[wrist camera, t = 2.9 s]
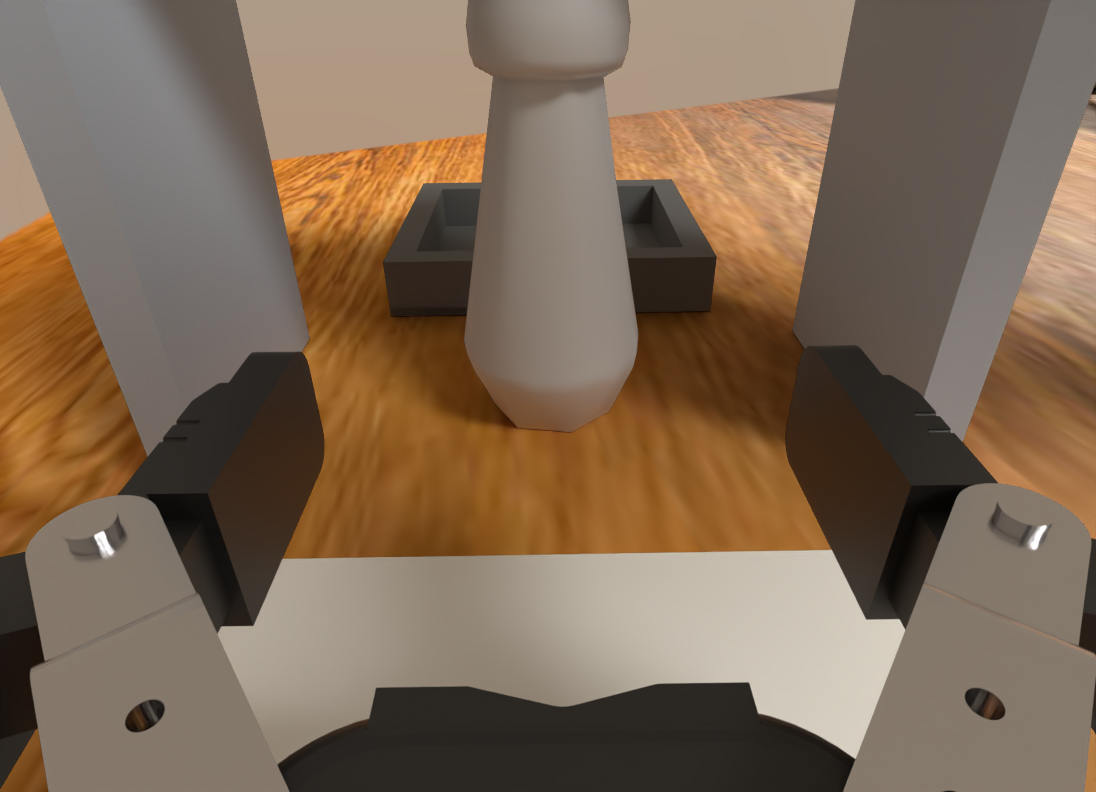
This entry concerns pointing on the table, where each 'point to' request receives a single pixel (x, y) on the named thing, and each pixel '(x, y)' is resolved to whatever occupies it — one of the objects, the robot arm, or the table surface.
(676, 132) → the table surface
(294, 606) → the pad
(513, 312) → the salt shaker
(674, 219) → the pit box
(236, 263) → the gate
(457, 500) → the table surface
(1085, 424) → the table surface
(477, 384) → the table surface
